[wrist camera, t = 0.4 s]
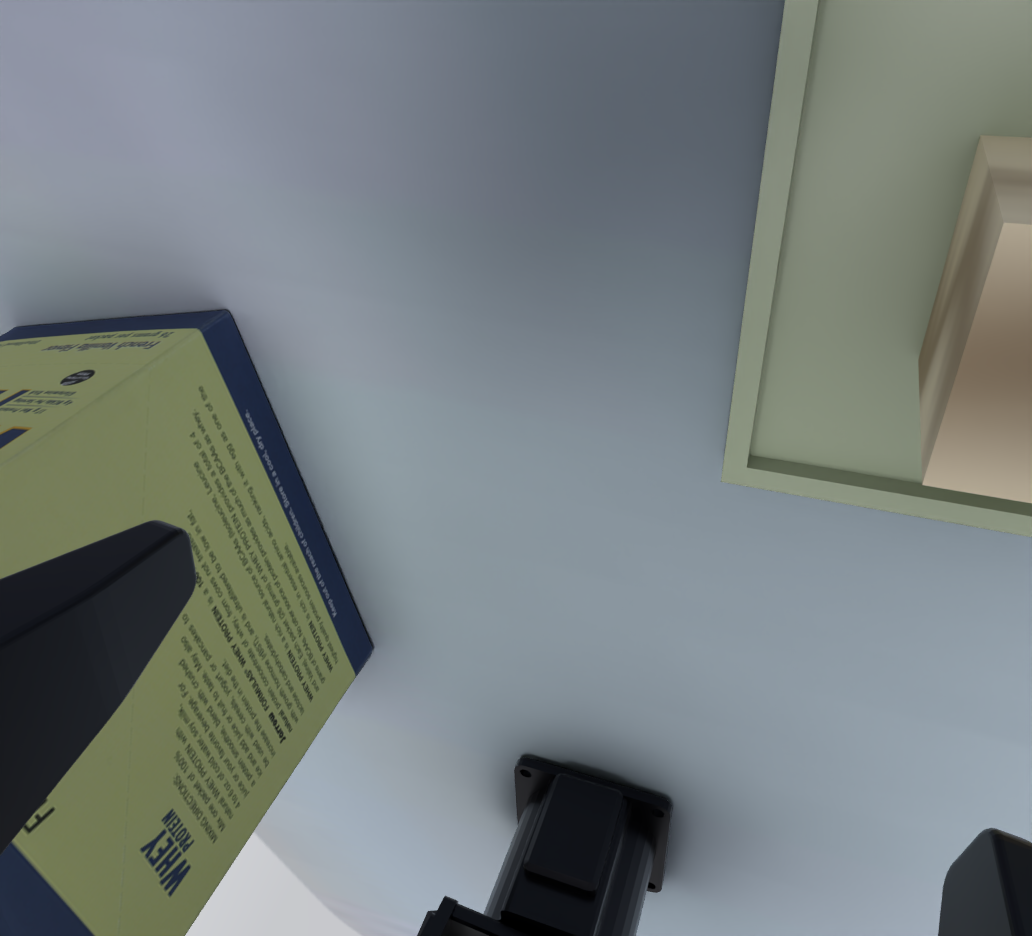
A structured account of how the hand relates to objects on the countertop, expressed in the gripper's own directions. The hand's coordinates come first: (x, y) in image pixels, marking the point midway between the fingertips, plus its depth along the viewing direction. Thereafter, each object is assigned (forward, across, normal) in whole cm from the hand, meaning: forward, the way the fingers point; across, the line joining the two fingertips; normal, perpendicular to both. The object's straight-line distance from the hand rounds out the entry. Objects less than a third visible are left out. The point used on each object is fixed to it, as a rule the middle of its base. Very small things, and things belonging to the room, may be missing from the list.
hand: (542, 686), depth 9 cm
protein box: (+14, +17, +15) cm, 27 cm away
